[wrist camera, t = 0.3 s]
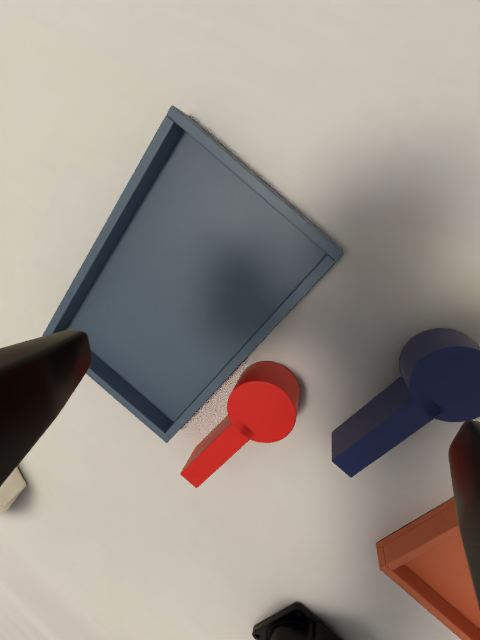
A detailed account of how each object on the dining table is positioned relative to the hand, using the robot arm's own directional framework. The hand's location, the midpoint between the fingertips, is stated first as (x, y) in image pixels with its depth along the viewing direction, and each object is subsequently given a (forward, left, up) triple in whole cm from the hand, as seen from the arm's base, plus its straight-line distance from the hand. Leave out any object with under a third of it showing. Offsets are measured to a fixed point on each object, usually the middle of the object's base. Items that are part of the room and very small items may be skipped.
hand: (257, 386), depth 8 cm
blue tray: (-6, +6, -14) cm, 16 cm away
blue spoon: (-1, -9, -14) cm, 17 cm away
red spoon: (-10, -3, -14) cm, 18 cm away
